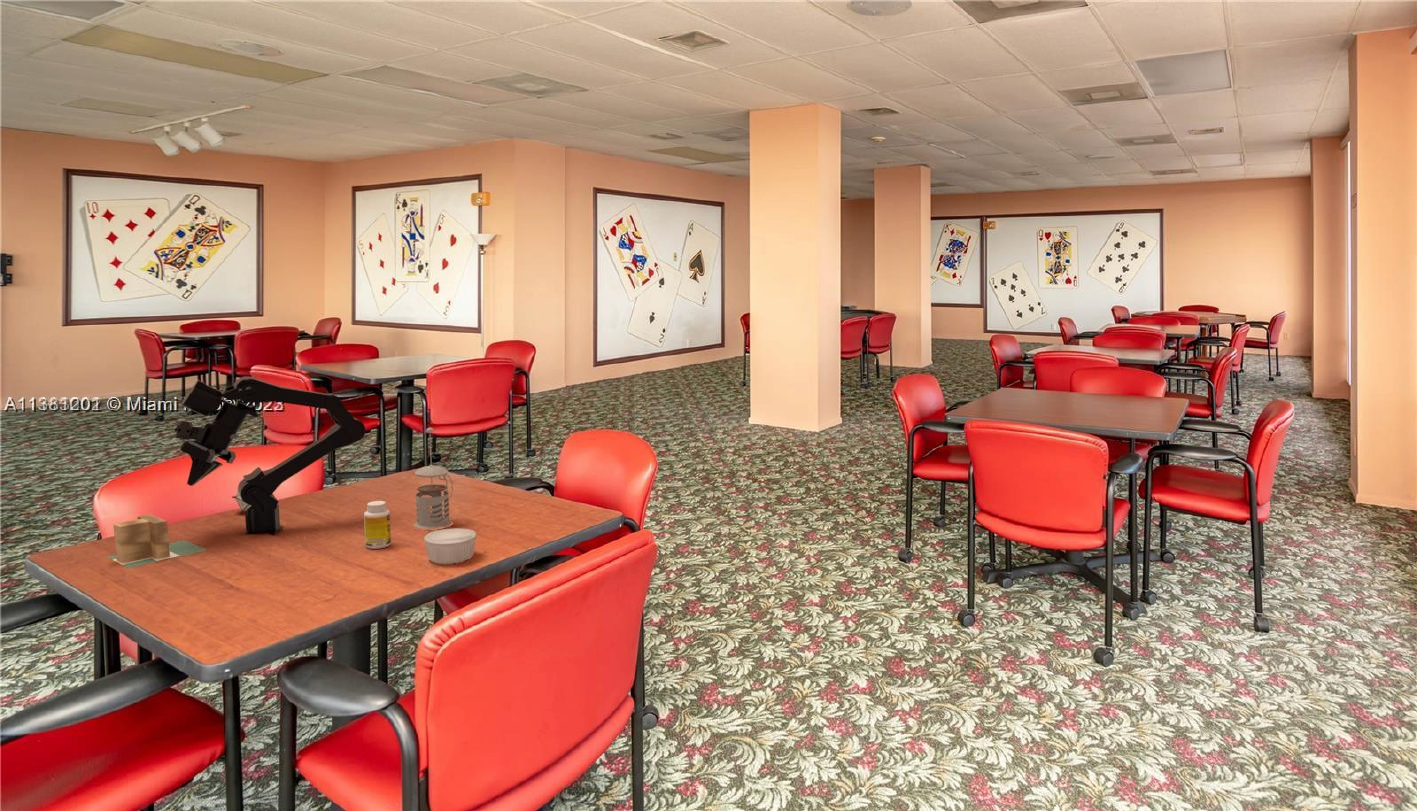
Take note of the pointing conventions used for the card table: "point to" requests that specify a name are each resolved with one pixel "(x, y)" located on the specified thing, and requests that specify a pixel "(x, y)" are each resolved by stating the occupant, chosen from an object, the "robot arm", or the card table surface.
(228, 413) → the robot arm
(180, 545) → the board
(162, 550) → the oak t block
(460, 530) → the ramekin
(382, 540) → the supplement bottle
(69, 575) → the card table surface
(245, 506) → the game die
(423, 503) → the french press
